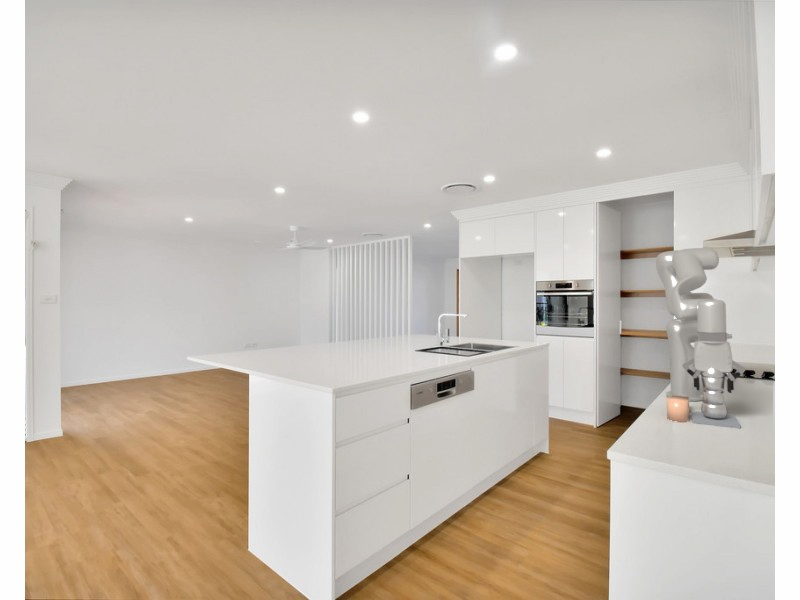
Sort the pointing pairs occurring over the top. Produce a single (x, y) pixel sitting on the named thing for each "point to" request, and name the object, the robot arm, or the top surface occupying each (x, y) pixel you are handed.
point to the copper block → (683, 397)
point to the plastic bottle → (713, 393)
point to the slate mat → (715, 420)
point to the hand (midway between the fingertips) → (713, 390)
